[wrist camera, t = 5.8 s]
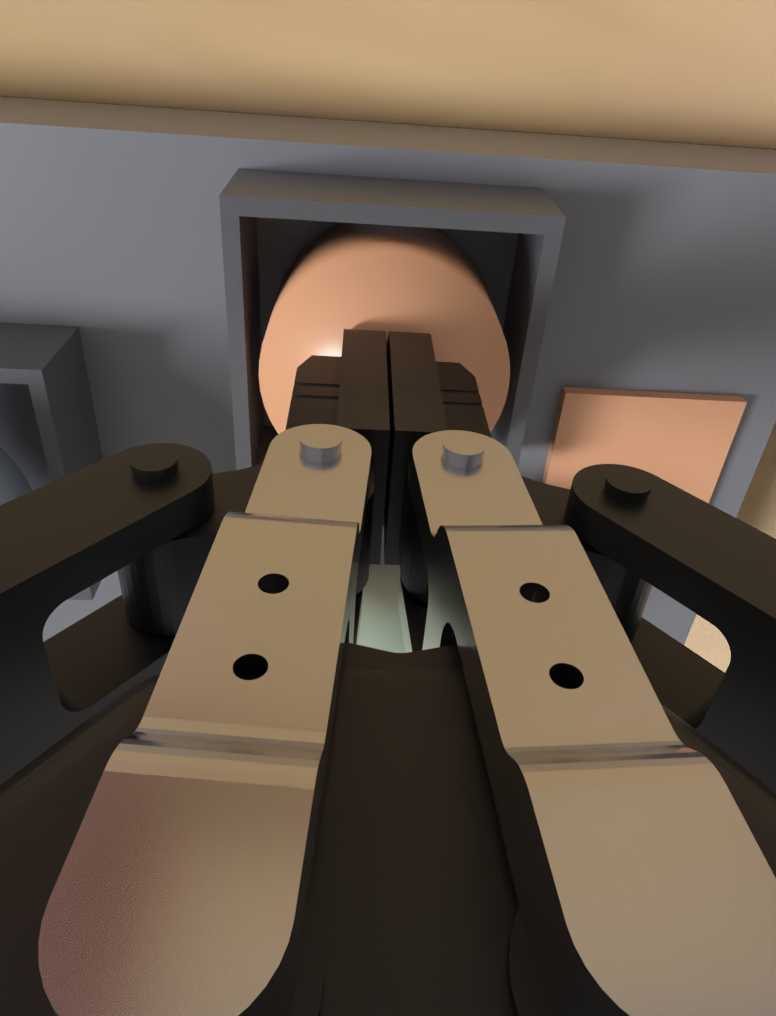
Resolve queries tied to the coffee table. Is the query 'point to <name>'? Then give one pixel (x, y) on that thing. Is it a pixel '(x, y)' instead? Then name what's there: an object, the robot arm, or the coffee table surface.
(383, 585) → the sage button
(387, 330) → the terracotta button
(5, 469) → the slate button
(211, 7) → the coffee table surface
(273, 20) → the coffee table surface
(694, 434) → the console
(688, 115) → the coffee table surface
